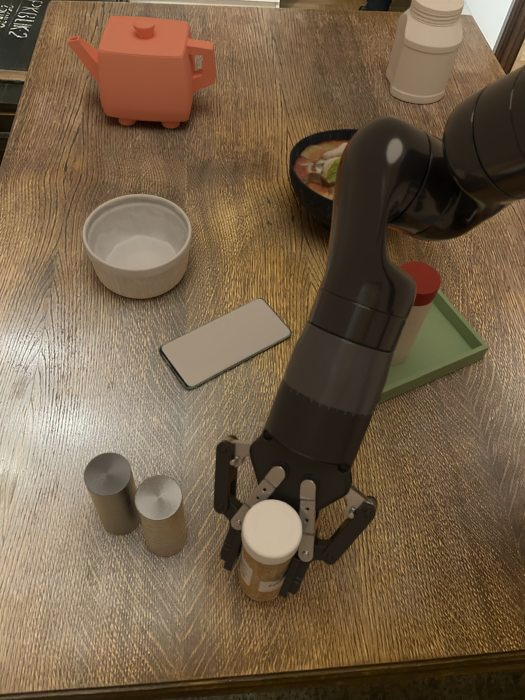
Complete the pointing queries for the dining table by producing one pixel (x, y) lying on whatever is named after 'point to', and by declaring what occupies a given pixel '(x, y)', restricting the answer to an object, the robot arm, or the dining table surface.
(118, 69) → the teapot
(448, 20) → the jar
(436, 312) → the tray
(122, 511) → the grey tin
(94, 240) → the ramekin
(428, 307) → the spice bottle
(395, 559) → the dining table surface
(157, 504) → the grey tin
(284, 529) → the sprinkles bottle
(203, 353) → the smartphone
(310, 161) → the bowl
